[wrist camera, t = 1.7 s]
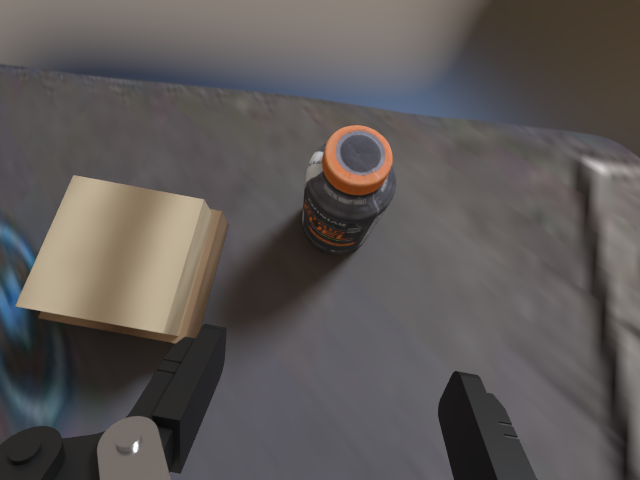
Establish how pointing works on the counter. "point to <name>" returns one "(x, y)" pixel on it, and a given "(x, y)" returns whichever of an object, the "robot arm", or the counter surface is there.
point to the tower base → (127, 261)
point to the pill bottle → (347, 189)
